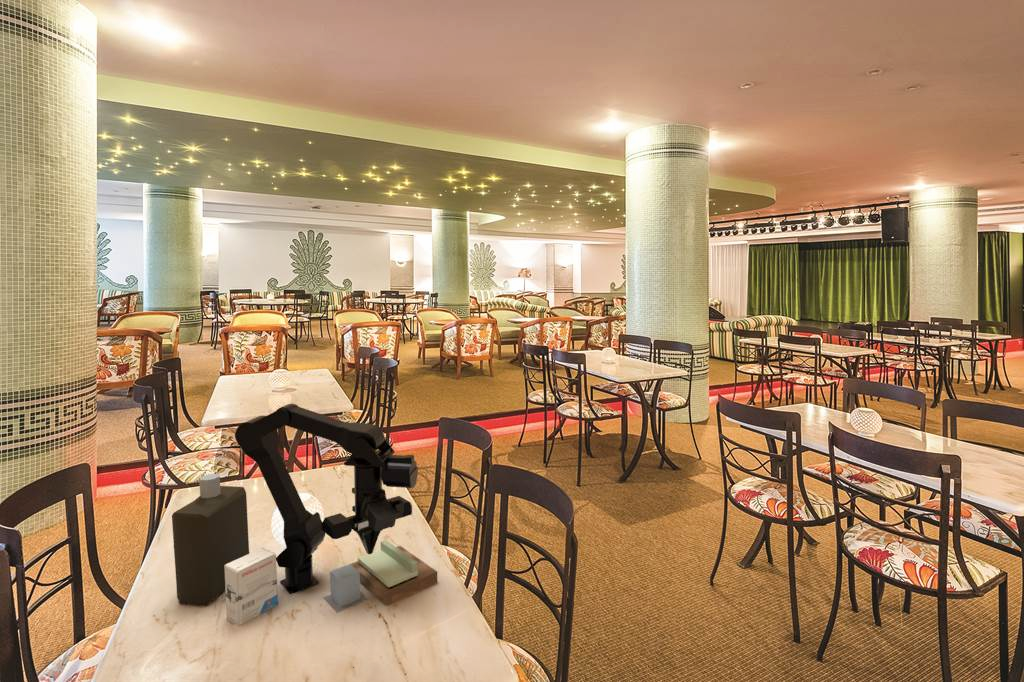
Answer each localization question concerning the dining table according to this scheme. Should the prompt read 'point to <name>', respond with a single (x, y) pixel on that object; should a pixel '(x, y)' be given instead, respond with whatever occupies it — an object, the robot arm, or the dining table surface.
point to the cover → (390, 564)
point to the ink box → (250, 585)
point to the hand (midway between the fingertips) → (369, 553)
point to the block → (345, 585)
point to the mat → (338, 609)
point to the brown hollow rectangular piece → (388, 596)
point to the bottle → (208, 540)
